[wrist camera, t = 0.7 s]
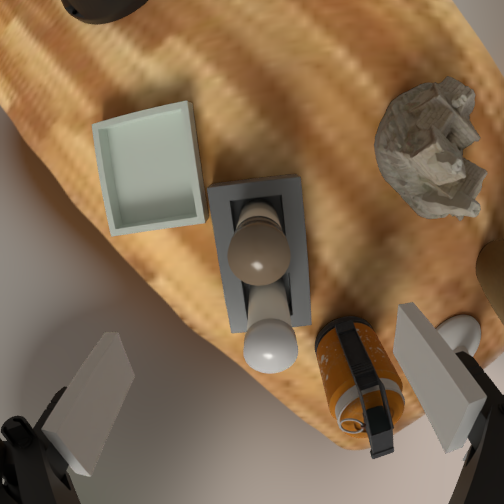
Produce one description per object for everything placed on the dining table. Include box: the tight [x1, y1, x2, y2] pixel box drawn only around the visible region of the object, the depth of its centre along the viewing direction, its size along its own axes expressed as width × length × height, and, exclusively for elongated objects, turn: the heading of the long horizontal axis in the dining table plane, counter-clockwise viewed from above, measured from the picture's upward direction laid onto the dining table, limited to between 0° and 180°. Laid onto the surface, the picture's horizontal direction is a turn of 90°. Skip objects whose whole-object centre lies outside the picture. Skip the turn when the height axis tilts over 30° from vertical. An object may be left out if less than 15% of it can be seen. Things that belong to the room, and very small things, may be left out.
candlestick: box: [436, 315, 481, 357], centre depth 31 cm, size 13×13×30 cm
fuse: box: [244, 277, 298, 373], centre depth 34 cm, size 5×5×14 cm
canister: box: [315, 316, 405, 459], centre depth 35 cm, size 9×11×20 cm
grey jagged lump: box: [374, 76, 487, 221], centre depth 29 cm, size 16×16×15 cm
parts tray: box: [92, 101, 209, 236], centre depth 36 cm, size 14×12×3 cm
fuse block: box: [207, 174, 312, 333], centre depth 38 cm, size 18×10×4 cm, turn 7°
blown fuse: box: [227, 199, 291, 286], centre depth 31 cm, size 5×5×14 cm
